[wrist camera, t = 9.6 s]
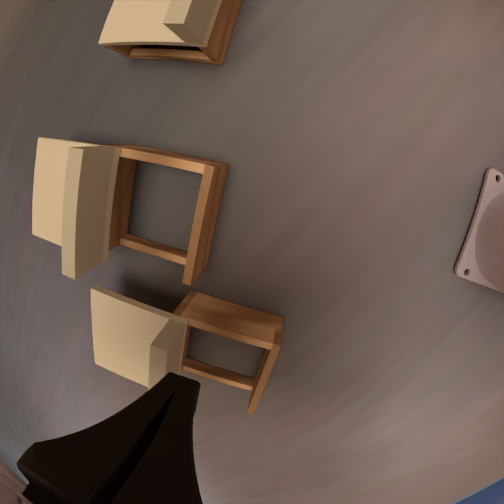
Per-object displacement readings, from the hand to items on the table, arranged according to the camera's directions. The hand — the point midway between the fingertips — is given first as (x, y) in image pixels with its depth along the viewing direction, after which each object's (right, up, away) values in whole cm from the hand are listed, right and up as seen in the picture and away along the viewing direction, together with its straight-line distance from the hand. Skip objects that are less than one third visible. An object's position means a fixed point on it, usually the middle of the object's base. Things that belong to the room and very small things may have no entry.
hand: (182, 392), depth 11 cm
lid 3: (-5, 0, +8) cm, 9 cm away
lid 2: (-2, +20, 0) cm, 20 cm away
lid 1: (-8, +9, +5) cm, 14 cm away
